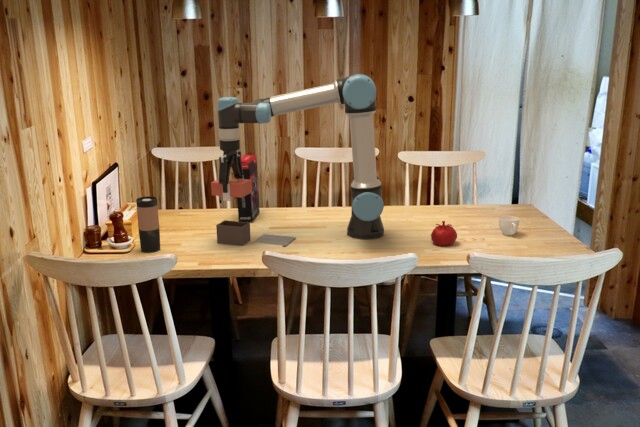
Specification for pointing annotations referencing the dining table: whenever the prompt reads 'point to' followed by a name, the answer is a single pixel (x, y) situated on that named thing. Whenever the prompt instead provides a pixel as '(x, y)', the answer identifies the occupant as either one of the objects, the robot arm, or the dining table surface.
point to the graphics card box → (250, 202)
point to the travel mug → (148, 224)
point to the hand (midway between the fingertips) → (232, 197)
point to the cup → (508, 225)
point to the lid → (233, 187)
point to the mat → (275, 239)
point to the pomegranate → (443, 235)
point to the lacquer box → (233, 233)
